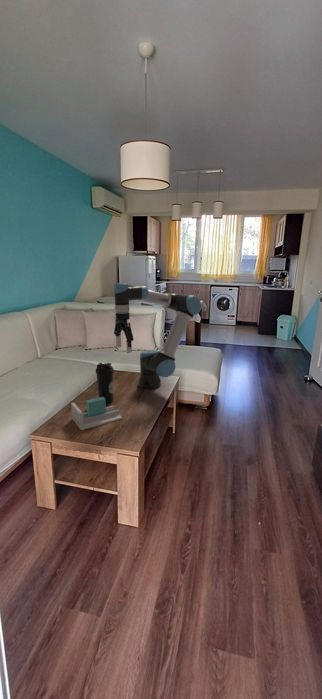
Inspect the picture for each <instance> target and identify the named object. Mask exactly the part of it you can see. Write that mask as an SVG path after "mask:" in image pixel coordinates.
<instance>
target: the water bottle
mask: <svg viewBox="0 0 322 699" xmlns="http://www.w3.org/2000/svg"><path fill="white" fill-rule="evenodd" d="M114 371H115V370H114V367H113V366H112V363H111V362H106V363H102V362H99V363H97V365H96V368H95V374H96V383H97V384H96V385H97V392H98V393H97V394H98V398H100V397H104V398H105V401H106V404H111V403H113V402H114Z"/></svg>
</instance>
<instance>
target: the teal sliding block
mask: <svg viewBox="0 0 322 699" xmlns="http://www.w3.org/2000/svg"><path fill="white" fill-rule="evenodd" d="M85 401H86V412H87V416H88V417H91V416H95V415H99V414H103V413H106V407H107V403H106V401H105V398H104V397H100V398H99V397H95V398H93V399H87V400H85Z"/></svg>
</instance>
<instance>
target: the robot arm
mask: <svg viewBox="0 0 322 699" xmlns="http://www.w3.org/2000/svg"><path fill="white" fill-rule="evenodd" d="M113 291H114V292H113V293H114V305H115V306H114V309H115V310H114V311H115V324H114V331H113V334H114V336H115V344H116V347H115V348H121V347H122V334H121V333H122V331H123V333H124V336H125V339H126V341H125V342H126V343H125V344H126V346H125V347H126V353H127V354H130V353H133V352H132V350H133V348H132V346H133V345H132V342H133V341H134V340H135V339H134V336H133V335H134V334H133V331H132V327H131V322H128V320H130V302H131V301H138V302H139V301H140V302H144V303H149V304H153V305H159V306H162V308H165V309H169V310H173V311H175V315H176V316H175V317H174V320H173V323H172V324H171V327H170V329H169V331H168V335H167V337H166V339H165V341H164V344H163V346H162V348H161V349H160V350H155V349H154V350H153V349H152V350H151V349H150V350H145V351H141V352H140V354H139V364H140V367H139V368H140V370H139V371H140V375H139V377H138V381H137V384H138V385H137V386H138V387H140V388H141V389H146V390H147V389H148V390H151V389H157V388H159V387H161V385H162V381H161V378H160V377H162V378H168V377H171V376H172V375H173V374H174V372H175V371H176V363H175V361H176V357H175V354H176V352H177V349H178V348H179V345H180V343H181V340H182V339H183V335H184V334H185V331H186V328H187V326H188V324H189V322H190V321H191V320H193V319H194V317H195V316H196V315H198V314H199V313H200V312H201V309H202V303H201V300H200V298H199V297H198V296H196V295H193V294H186V293H171V292H165V293H164V292H160V291H159V292H158V291H154V290H150V289H148V288H147V286H145V285H129V283H127V282H124V283H123V282H117V283H115V284H114V290H113Z"/></svg>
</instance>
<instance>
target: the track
mask: <svg viewBox="0 0 322 699" xmlns="http://www.w3.org/2000/svg"><path fill="white" fill-rule="evenodd" d="M70 405H71V407H70V408H71V417H72V420H73V421H74V423H75V424H76V426H77V427H78V428H79V430H80V431H83V430H87V429H90V428H94V427H97V426H102V425H105V424H109V423H112V422H116V421H119V420H122V419H123V417H122V416H121V414H120V411H119V409H116V408H115V405H110V406H106V413H103V414H99V415H95V416H91V417H88V416H87V411H86V412H82V410H81V409H80V408H79V406H77V404H76V403H75V402H71V403H70Z"/></svg>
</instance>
